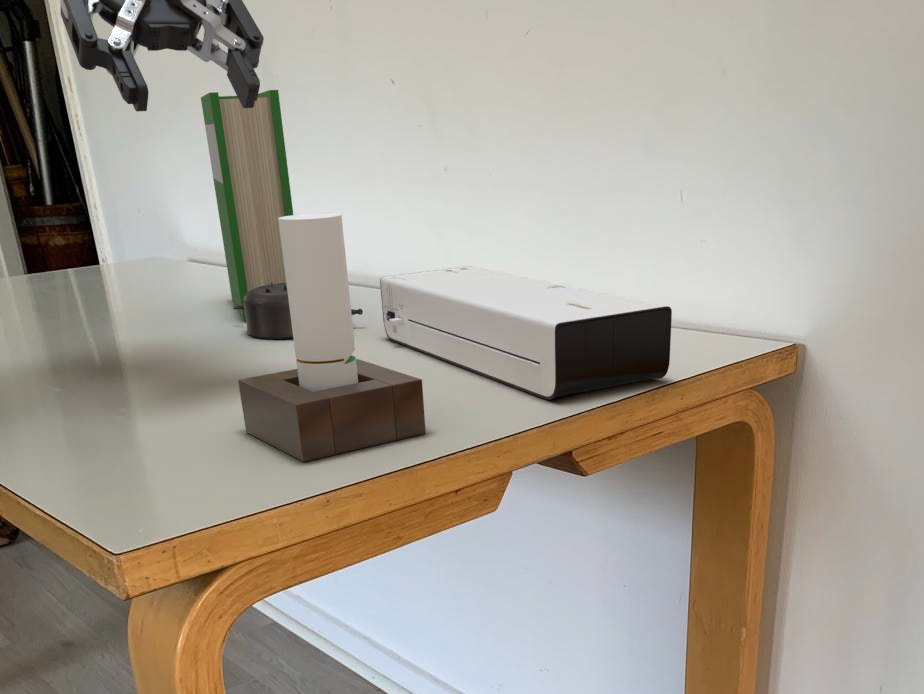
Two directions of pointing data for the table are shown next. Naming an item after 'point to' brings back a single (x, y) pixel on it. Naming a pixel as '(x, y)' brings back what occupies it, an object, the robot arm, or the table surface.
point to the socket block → (332, 411)
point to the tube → (319, 299)
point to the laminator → (527, 329)
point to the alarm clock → (270, 312)
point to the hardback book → (249, 187)
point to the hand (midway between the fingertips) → (199, 100)
